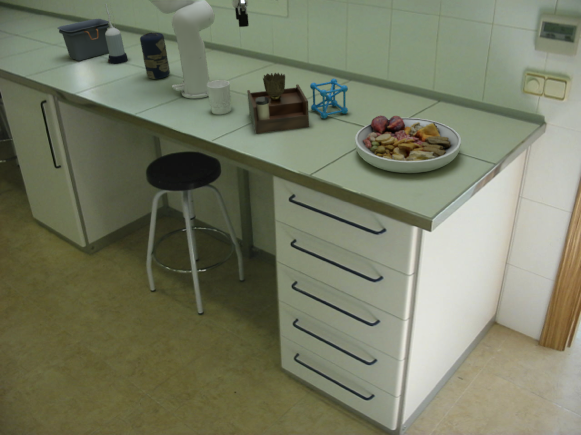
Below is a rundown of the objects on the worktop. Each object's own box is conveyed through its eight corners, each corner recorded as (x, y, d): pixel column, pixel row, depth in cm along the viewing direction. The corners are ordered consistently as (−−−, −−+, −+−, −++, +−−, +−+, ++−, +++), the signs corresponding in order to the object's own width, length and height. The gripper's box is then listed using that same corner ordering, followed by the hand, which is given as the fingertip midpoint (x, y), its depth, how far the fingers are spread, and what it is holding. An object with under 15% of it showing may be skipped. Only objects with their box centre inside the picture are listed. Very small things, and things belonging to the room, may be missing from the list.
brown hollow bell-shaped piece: (284, 103, 195) (282, 80, 190) (262, 103, 196) (260, 79, 192) (288, 95, 201) (287, 72, 197) (267, 95, 202) (265, 72, 198)
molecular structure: (309, 110, 206) (308, 82, 200) (335, 104, 209) (335, 77, 204) (322, 120, 198) (321, 91, 193) (349, 114, 201) (349, 85, 196)
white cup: (215, 117, 205) (211, 89, 200) (206, 109, 211) (203, 82, 206) (236, 112, 208) (232, 84, 203) (227, 105, 214) (224, 78, 209)
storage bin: (104, 47, 287) (97, 17, 279) (120, 53, 277) (114, 21, 269) (62, 58, 275) (54, 27, 267) (78, 65, 265) (70, 32, 257)
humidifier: (106, 61, 267) (93, 4, 254) (122, 57, 272) (110, 0, 258) (114, 65, 262) (102, 6, 248) (131, 60, 266) (119, 2, 253)
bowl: (481, 155, 170) (485, 130, 166) (406, 189, 156) (407, 163, 152) (406, 124, 191) (408, 100, 187) (334, 151, 177) (333, 127, 173)
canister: (159, 81, 240) (151, 36, 230) (142, 78, 244) (133, 34, 235) (175, 74, 247) (168, 30, 237) (158, 71, 251) (150, 28, 241)
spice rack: (255, 133, 192) (253, 107, 187) (249, 115, 205) (247, 90, 200) (309, 126, 194) (308, 100, 189) (299, 109, 207) (298, 84, 202)
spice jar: (258, 123, 191) (256, 102, 187) (256, 118, 195) (254, 97, 191) (271, 121, 192) (269, 100, 188) (269, 116, 195) (267, 96, 191)
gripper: (224, -35, 199) (229, 17, 209) (228, -26, 185) (233, 30, 194) (246, -37, 200) (250, 15, 209) (252, -27, 186) (256, 28, 195)
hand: (242, 22), depth 202 cm, fingers open, 9 cm apart
